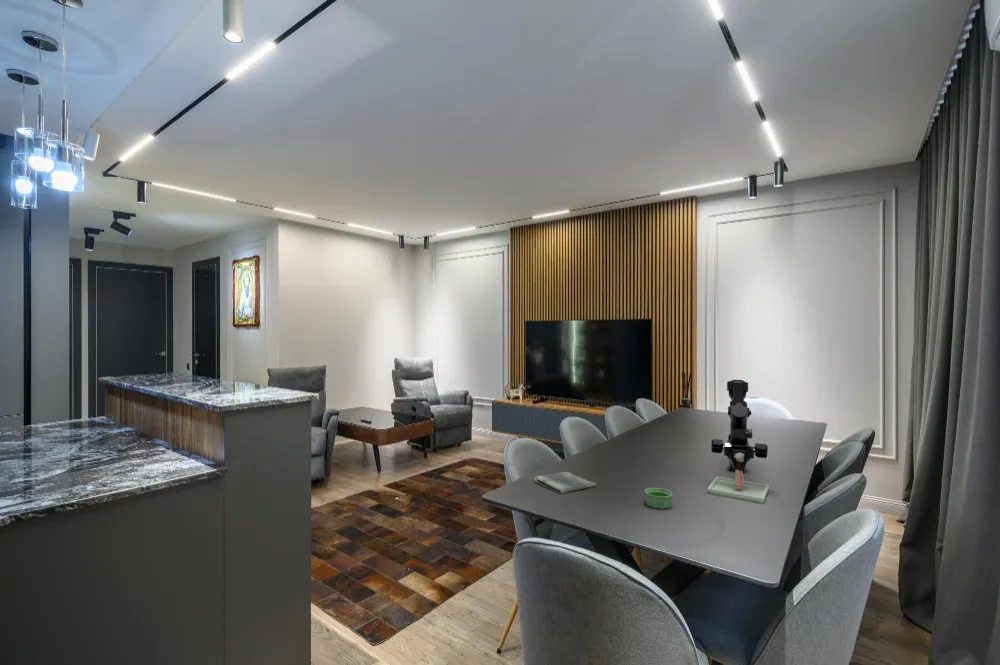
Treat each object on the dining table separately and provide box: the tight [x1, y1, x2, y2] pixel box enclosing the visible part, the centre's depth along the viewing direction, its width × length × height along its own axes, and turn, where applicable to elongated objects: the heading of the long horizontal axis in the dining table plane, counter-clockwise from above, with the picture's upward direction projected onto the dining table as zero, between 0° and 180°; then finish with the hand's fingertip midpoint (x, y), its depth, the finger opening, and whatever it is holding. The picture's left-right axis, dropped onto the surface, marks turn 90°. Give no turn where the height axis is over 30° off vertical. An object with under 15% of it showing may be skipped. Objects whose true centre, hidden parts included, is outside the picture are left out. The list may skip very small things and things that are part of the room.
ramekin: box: [644, 487, 674, 510], centre depth 162 cm, size 9×9×4 cm
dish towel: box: [532, 471, 597, 495], centre depth 183 cm, size 19×18×3 cm
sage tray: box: [706, 476, 770, 505], centre depth 176 cm, size 18×18×2 cm
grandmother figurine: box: [734, 452, 745, 489], centre depth 176 cm, size 8×4×13 cm, turn 161°
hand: (738, 468), depth 175 cm, fingers closed on grandmother figurine, 3 cm apart
